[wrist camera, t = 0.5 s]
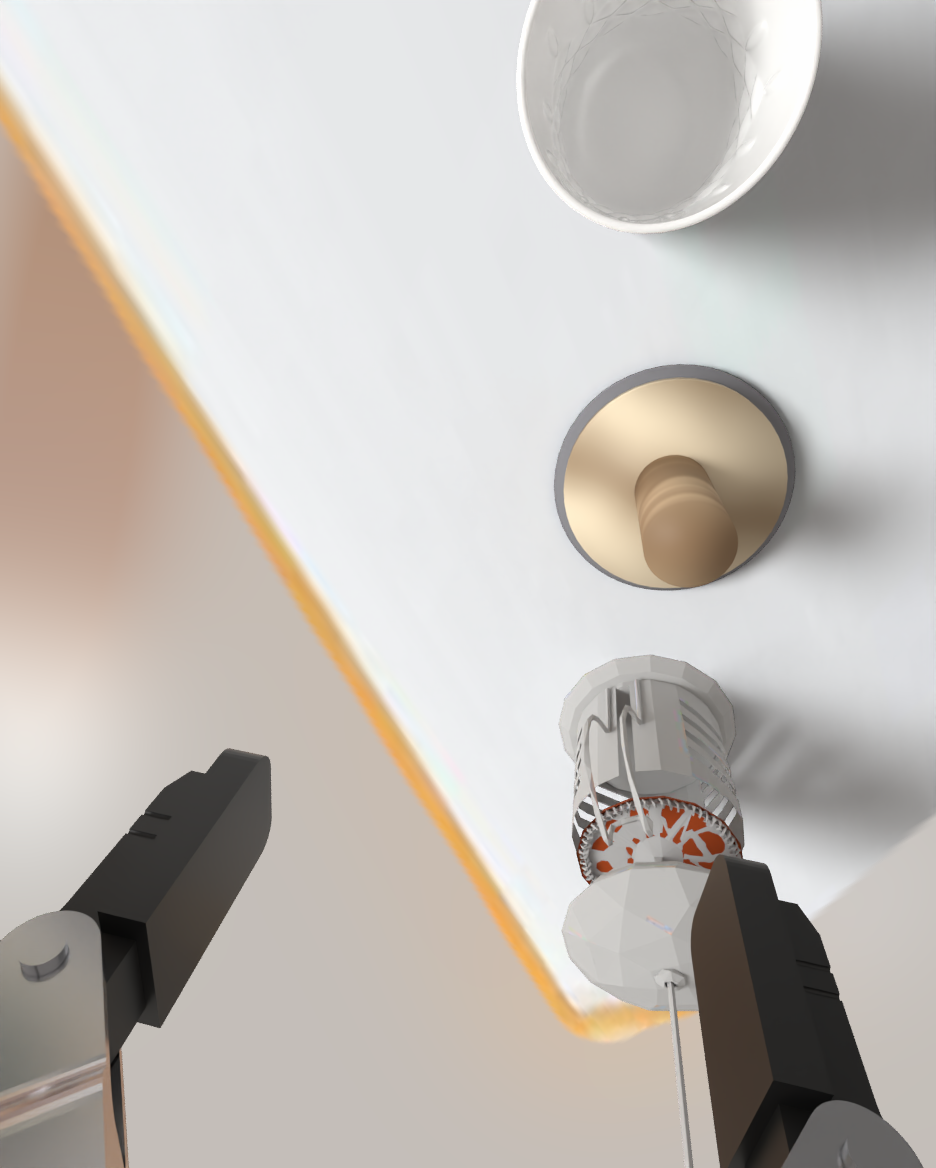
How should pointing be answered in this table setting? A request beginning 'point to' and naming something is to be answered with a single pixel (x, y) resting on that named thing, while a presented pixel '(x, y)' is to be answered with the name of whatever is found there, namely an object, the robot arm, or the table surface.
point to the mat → (653, 375)
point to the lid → (675, 483)
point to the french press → (647, 829)
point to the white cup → (662, 101)
